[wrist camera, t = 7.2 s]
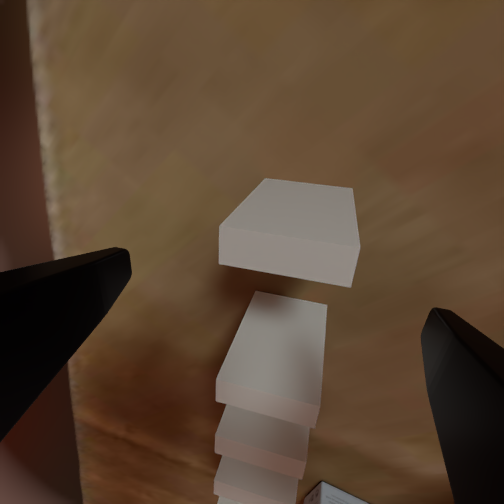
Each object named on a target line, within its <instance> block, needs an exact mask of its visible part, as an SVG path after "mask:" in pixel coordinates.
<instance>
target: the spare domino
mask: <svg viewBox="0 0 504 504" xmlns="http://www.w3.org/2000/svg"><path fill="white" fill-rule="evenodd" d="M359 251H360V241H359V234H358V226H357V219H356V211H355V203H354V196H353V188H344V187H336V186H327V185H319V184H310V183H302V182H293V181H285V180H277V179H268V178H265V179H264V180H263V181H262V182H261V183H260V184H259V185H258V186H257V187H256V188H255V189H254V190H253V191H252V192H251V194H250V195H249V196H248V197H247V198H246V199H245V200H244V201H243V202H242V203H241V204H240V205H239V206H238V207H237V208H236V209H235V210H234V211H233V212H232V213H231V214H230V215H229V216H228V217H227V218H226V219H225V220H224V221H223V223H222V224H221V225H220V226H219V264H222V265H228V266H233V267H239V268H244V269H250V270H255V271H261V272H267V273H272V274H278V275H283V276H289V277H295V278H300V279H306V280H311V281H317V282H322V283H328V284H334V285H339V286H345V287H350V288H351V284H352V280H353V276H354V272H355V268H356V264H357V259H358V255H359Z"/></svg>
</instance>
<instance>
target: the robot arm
mask: <svg viewBox="0 0 504 504" xmlns="http://www.w3.org/2000/svg"><path fill="white" fill-rule="evenodd" d="M131 275H132V269H131V262H130V254H129V252H128V250H127V249H123V248H118V247H113V248H108V249H104V250H99V251H95V252H90V253H86V254H81V255H77V256H72V257H67V258H63V259H58V260H54V261H49V262H45V263H40V264H36V265H31V266H26V267H22V268H17V269H13V270H8V271H4V272H0V442H1V441H2V440H3V438H4V437H5V436H6V435H7V434H8V432H9V431H10V430H11V429H12V428H13V426H14V425H15V424H16V423H17V422H18V420H19V419H20V418H21V417H22V415H23V414H24V413H25V412H26V411H27V410H28V408H29V407H30V406H31V405H32V404H33V402H34V401H35V400H36V399H37V398H38V396H39V395H40V394H41V393H42V391H43V390H44V389H45V388H46V387H47V385H48V384H49V383H50V382H51V381H52V379H53V378H54V377H55V376H56V375H57V373H58V372H59V371H60V370H61V369H62V367H63V366H64V365H65V364H66V363H67V361H68V360H69V359H70V358H71V357H72V355H73V354H74V353H75V352H76V351H77V349H78V348H79V347H80V346H81V345H82V343H83V342H84V341H85V340H86V339H87V337H88V336H89V335H90V334H91V333H92V331H93V330H94V329H95V328H96V327H97V325H98V324H99V323H100V322H101V320H102V319H103V318H104V317H105V315H106V314H107V313H108V311H109V310H110V308H111V307H112V305H113V304H114V302H115V301H116V299H117V298H118V296H119V295H120V293H121V292H122V290H123V289H124V287H125V286H126V284H127V283H128V281H129V280H130V278H131ZM421 345H422V353H423V362H424V370H425V378H426V386H427V392H428V397H429V401H430V405H431V409H432V413H433V417H434V421H435V426H436V430H437V434H438V438H439V442H440V446H441V450H442V454H443V458H444V462H445V466H446V470H447V474H448V478H449V482H450V486H451V490H452V494H453V498H454V502H455V504H504V348H502V347H501V346H499V345H498V344H497V343H495V342H494V341H492V340H491V339H490V338H488V337H487V336H486V335H484V334H483V333H481V332H480V331H479V330H477V329H476V328H474V327H473V326H472V325H470V324H469V323H468V322H466V321H465V320H463V319H462V318H461V317H459V316H458V315H456V314H455V313H454V312H452V311H451V310H447V309H442V308H433V309H432V310H431V311H430V313H429V315H428V318H427V320H426V322H425V325H424V327H423V330H422V333H421Z"/></svg>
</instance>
